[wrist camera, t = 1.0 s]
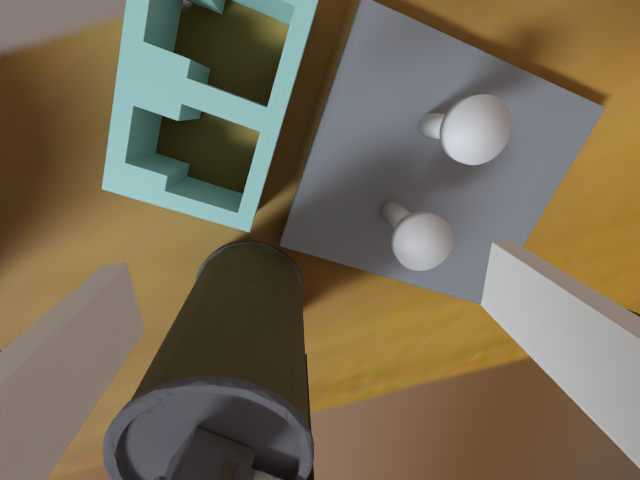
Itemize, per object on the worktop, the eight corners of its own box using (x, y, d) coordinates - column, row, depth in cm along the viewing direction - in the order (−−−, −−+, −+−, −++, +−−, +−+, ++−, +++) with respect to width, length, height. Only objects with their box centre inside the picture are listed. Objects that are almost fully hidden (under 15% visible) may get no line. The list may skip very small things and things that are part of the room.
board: (279, 240, 31) (275, 289, 23) (358, 1, 25) (394, -55, 16) (479, 298, 35) (539, 359, 27) (590, 107, 29) (716, 107, 20)
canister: (177, 303, 33) (28, 556, 14) (230, 220, 30) (133, 397, 12) (271, 350, 36) (248, 610, 17) (327, 278, 33) (373, 492, 15)
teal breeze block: (136, 174, 28) (101, 189, 23) (172, -46, 23) (138, -90, 18) (256, 211, 30) (249, 232, 25) (314, 16, 25) (320, -8, 20)
